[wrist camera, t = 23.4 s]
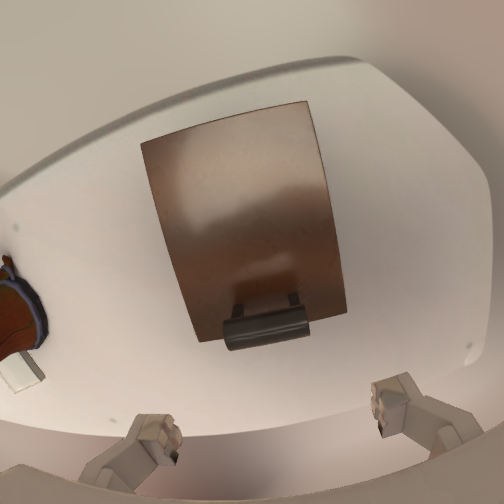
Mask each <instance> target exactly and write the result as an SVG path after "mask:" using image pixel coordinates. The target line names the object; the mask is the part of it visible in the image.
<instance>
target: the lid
mask: <svg viewBox="0 0 504 504" xmlns="http://www.w3.org/2000/svg"><path fill="white" fill-rule="evenodd" d="M140 145H141V150H142V154H143V159H144V163H145V167H146V171H147V175H148V179H149V183H150V187H151V191H152V195H153V199H154V202H155V206H156V210H157V214H158V217H159V221H160V224H161V228H162V231H163V235H164V238H165V242H166V245H167V248H168V252H169V255H170V258H171V261H172V265H173V268H174V271H175V274H176V277H177V280H178V283H179V286H180V289H181V292H182V295H183V298H184V301H185V304H186V307H187V310H188V313H189V316H190V319H191V322H192V324H193V327H194V330H195V333H196V335H197V338H198V341H199V342H206V341H212V340H219V339H224V341H225V344H226V346H227V348H228V350H229V351H234V350H240V349H245V348H251V347H257V346H262V345H267V344H273V343H278V342H283V341H288V340H292V339H297V338H302V337H306V336H310V329H309V323H308V322H311V321H315V320H320V319H324V318H328V317H332V316H336V315H340V314H344V313H347V305H346V297H345V289H344V281H343V274H342V267H341V260H340V254H339V247H338V241H337V235H336V229H335V223H334V218H333V212H332V207H331V202H330V197H329V192H328V187H327V182H326V177H325V172H324V168H323V163H322V159H321V154H320V150H319V146H318V141H317V137H316V133H315V129H314V125H313V121H312V117H311V113H310V110H309V106H308V102H307V101H300V102H295V103H289V104H284V105H278V106H273V107H268V108H264V109H259V110H254V111H250V112H246V113H241V114H237V115H233V116H229V117H225V118H221V119H218V120H214V121H210V122H207V123H203V124H199V125H196V126H193V127H189V128H186V129H183V130H179V131H176V132H173V133H170V134H167V135H164V136H161V137H158V138H155V139H152V140H149V141H146V142H144V143H141V144H140Z"/></svg>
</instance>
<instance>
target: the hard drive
mask: <svg viewBox="0 0 504 504" xmlns="http://www.w3.org/2000/svg"><path fill="white" fill-rule="evenodd" d="M0 376H1V377H2V379H3V380H4V381H5V383H6V384H7V385H8V387H9V388H10V389H11V390H12V392H13V393H15V394H16V393H18V392H20V391H22V390H24V389H27V388H29V387H31V386H33V385H35V384H37V383H39V382H41V381H43V379H44V378H45V376H44V375H43V373H42V372H41V371H40V369H39V368H38V367H37V365H36V364H35V363H34V361H33V360H32V358H31V357H30V356H29V354H28V353H27V351H21V352H17V353H14V354H11V355H9V356H8V357H7V358H5V359H4V360H2V361H1V362H0Z"/></svg>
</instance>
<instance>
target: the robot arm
mask: <svg viewBox="0 0 504 504" xmlns="http://www.w3.org/2000/svg"><path fill="white" fill-rule="evenodd" d="M371 391H372V394H373V396H372V397H371V406H372V412H373V415H374V418H375V419H376V420H378V428H379V431H380V433H381V436H382V438H386V437H389V436H392V435H395V434H399V433H402V432H403V434H404V435H406V436H407V437H409V438H411V439H412V440H414V441H415V442H417V443H419V444H420V445H421V446H423V447H424V448H426V449H428V450H429V451H431V453H430V456H429V459H428V460H427V461H424V462H422V463H419V464H417V465H414V466H411V467H408V468H406V469H403V470H400V471H397V472H394V473H391V474H388V475H385V476H382V477H379V478H375V479H371V480H368V481H365V482H360V483H357V484H353V485H348V486H344V487H340V488H335V489H330V490H325V491H320V492H315V493H309V494H302V495H296V496H288V497H279V498H270V499H257V500H236V501H202V500H183V499H169V498H160V497H151V496H143V495H137V494H136V493H135V492H134V490H135V489H136V488H137V486H139V485H140V484H141V483H142V482H143V481H144V480H145V479H146V478H147V477H148V476H149V475H150V474H151V473H152V472H153V471H154V470H155V469H156V468H157V467H158V465H164V466H168V465H169V466H175V465H176V462H177V459H178V455H179V454H178V452H177V451H176V450H178V449H179V448H180V447H181V444H182V434H181V431H180V429H179V427H178V426H176V425H175V424H173V423H174V419H173V417H172V416H171V415H169V414H138V415H137V416H136V417H135V420H134V422H133V424H132V426H131V428H130V430H129V432H128V434H127V436H126V439H122V440H120V441H119V442H118V443H116V444H115V445H113V446H112V447H111V448H109V449H107V450H106V451H105V452H103V453H102V454H100V455H99V456H97V457H96V458H94V459H93V460H91V461H90V462H89V463H87V464H86V466H85V468H84V470H83V472H82V474H81V476H80V478H79V480H78V481H73V480H69V479H66V478H63V477H60V476H57V475H54V474H51V473H47V472H45V471H42V470H39V469H36V468H34V467H32V466H29V465H26V464H19V465H16V466H14V467H12V468H9V469H7V470H6V471H3V472H1V473H0V504H504V422H502V423H500V424H498V425H497V426H495V427H494V428H492V429H490V430H488V431H486V432H485V433H484V431H483V430H482V428H481V427H480V425H479V424H478V422H477V421H476V419H475V418H474V416H473V415H472V413H469V412H467V411H464V410H462V409H459V408H457V407H454V406H451V405H449V404H446V403H444V402H441V401H439V400H436V399H434V398H432V397H429V396H423V395H422V394H421V392H420V390H419V389H418V387H417V385H416V384H415V382H414V381H413V379H412V377H411V376H410V374H409V373H408V372H404V373H402V374H399V375H396V376H393V377H390V378H387V379H383V380H380V381H377V382H373V383H372V384H371Z"/></svg>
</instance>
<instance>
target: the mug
mask: <svg viewBox="0 0 504 504" xmlns="http://www.w3.org/2000/svg"><path fill="white" fill-rule="evenodd" d="M2 260H3V262H4V265H3V266H1V268H0V362H1V361H2V360H4V359H5V358H7V357H8V356H9V355H11V354H14V353H17V352H21V351H26V350H32V349H38V348H39V347H40V346H41V344H42V343H43V341H44V340H45V338H46V337H47V335H48V333H47V326H46V316H45V313H44V311H43V308H42V305H41V303H40V300H39V298H38V296H37V295H36V294H35V293H34V291H33V290H32V289H31V288H30V287H29V286H28V284H27V283H26V282H25V281H24V280H22V279H20V278H17V277H15V276H14V274H13V265H12V261H11V258H9V257H8V256H6V255H3V256H2Z"/></svg>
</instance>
